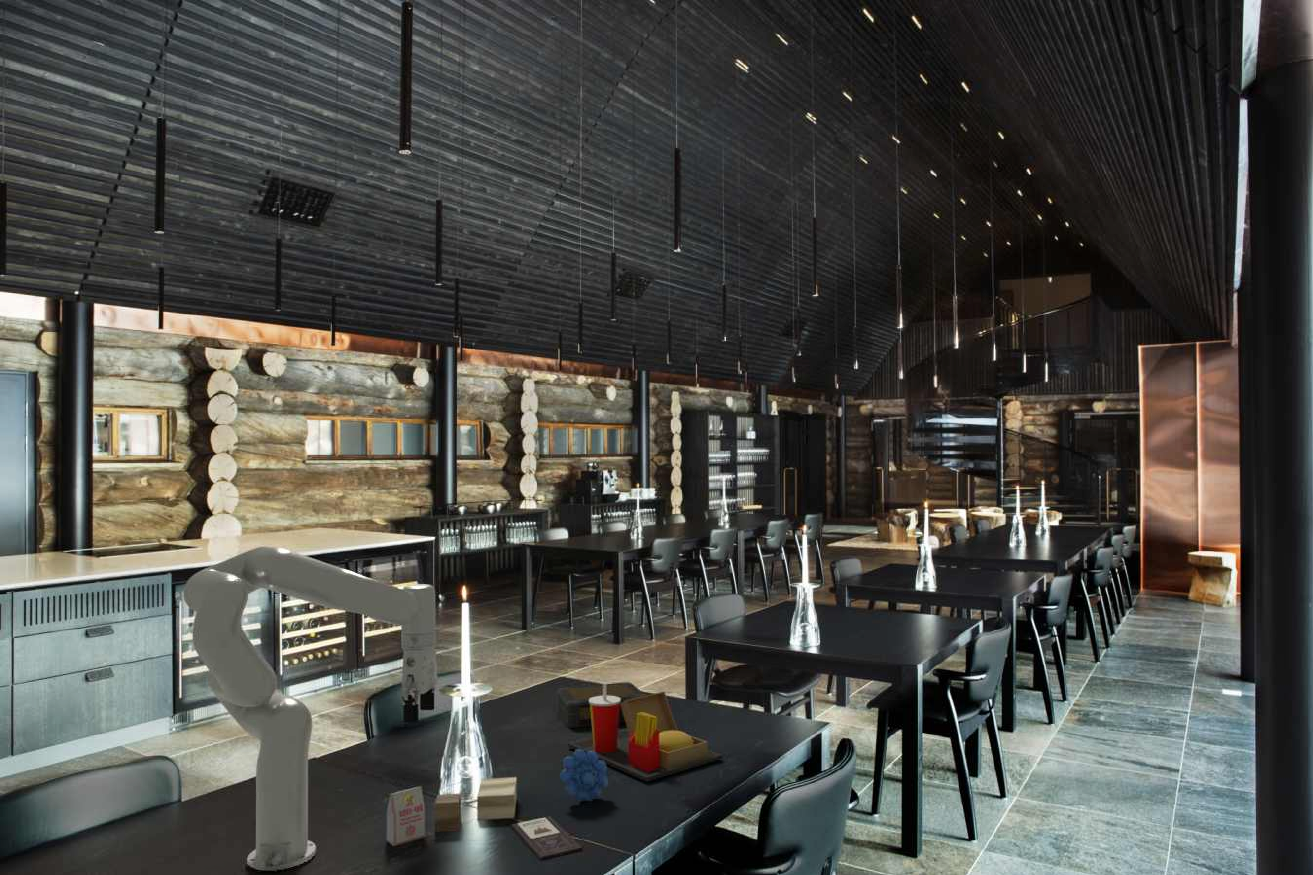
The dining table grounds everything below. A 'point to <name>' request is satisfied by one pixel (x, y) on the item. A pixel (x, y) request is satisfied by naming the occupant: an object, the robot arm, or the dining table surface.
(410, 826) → the white paper bag
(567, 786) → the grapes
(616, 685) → the cash box
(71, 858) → the dining table surface
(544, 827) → the chocolate bar
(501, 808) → the block
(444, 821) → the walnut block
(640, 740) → the fast food meal
